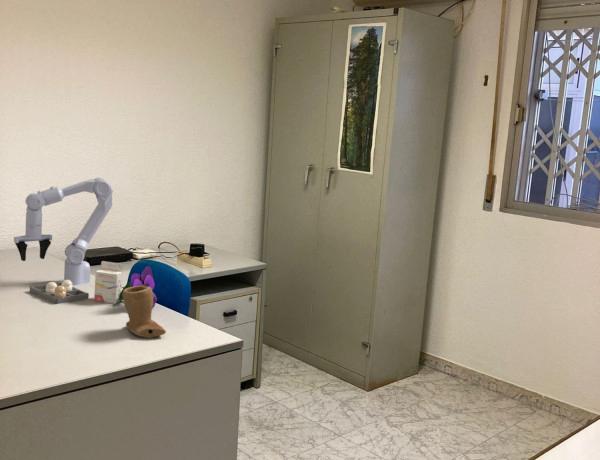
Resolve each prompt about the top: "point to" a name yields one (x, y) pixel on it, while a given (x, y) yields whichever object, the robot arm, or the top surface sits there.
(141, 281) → the flower
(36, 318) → the top surface
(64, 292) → the brown egg
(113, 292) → the ink cartridge box
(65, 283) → the cream egg
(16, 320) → the top surface
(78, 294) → the carton
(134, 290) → the brown felt boot
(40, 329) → the top surface
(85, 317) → the top surface
